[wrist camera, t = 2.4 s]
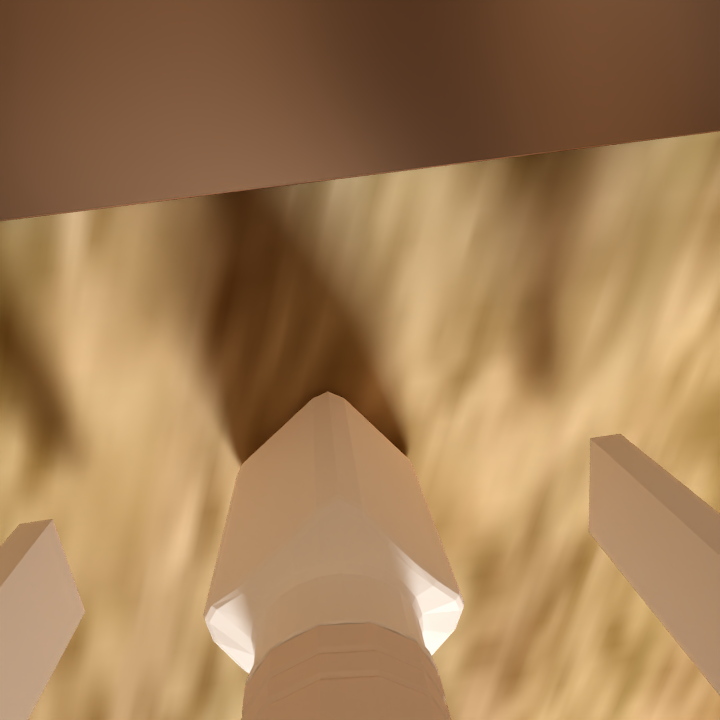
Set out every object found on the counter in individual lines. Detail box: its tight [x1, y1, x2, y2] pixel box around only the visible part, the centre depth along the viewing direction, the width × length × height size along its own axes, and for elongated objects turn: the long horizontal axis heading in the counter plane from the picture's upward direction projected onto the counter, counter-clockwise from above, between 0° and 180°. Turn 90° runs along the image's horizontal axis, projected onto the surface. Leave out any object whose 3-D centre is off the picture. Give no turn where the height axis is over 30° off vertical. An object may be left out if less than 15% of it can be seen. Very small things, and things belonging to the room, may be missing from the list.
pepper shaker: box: [204, 391, 464, 720], centre depth 12 cm, size 4×4×10 cm
